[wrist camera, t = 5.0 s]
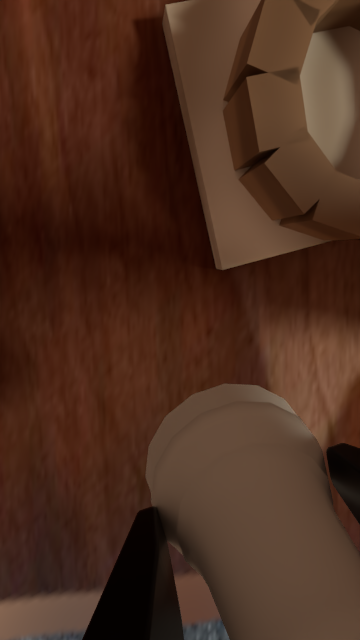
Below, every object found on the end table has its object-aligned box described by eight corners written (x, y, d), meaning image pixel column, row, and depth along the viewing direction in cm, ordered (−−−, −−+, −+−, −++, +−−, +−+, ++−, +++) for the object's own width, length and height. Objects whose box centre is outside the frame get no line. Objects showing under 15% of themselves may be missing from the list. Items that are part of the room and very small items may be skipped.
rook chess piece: (113, 428, 9) (43, 1594, 1) (261, 346, 9) (1022, 876, 1) (189, 547, 10) (409, 1548, 2) (320, 471, 10) (931, 1160, 2)
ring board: (442, -29, 16) (547, -120, 12) (454, 205, 19) (545, 192, 15) (162, 23, 15) (176, -61, 11) (216, 268, 18) (244, 274, 13)
